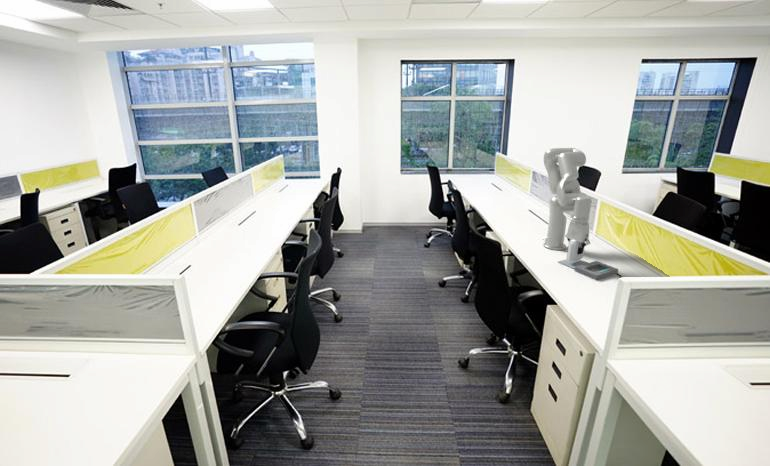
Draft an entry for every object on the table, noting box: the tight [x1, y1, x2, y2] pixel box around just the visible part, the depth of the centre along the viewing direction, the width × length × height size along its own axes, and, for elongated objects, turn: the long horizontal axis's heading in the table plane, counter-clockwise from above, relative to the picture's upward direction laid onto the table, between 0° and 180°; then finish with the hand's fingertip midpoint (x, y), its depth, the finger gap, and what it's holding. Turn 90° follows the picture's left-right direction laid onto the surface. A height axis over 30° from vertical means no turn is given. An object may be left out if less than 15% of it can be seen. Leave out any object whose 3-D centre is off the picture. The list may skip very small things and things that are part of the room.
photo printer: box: [566, 239, 585, 262], centre depth 195 cm, size 10×4×12 cm, turn 121°
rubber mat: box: [557, 258, 589, 270], centre depth 197 cm, size 10×13×1 cm
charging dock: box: [574, 260, 619, 281], centre depth 186 cm, size 12×16×3 cm
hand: (575, 251), depth 195 cm, fingers closed on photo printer, 4 cm apart
